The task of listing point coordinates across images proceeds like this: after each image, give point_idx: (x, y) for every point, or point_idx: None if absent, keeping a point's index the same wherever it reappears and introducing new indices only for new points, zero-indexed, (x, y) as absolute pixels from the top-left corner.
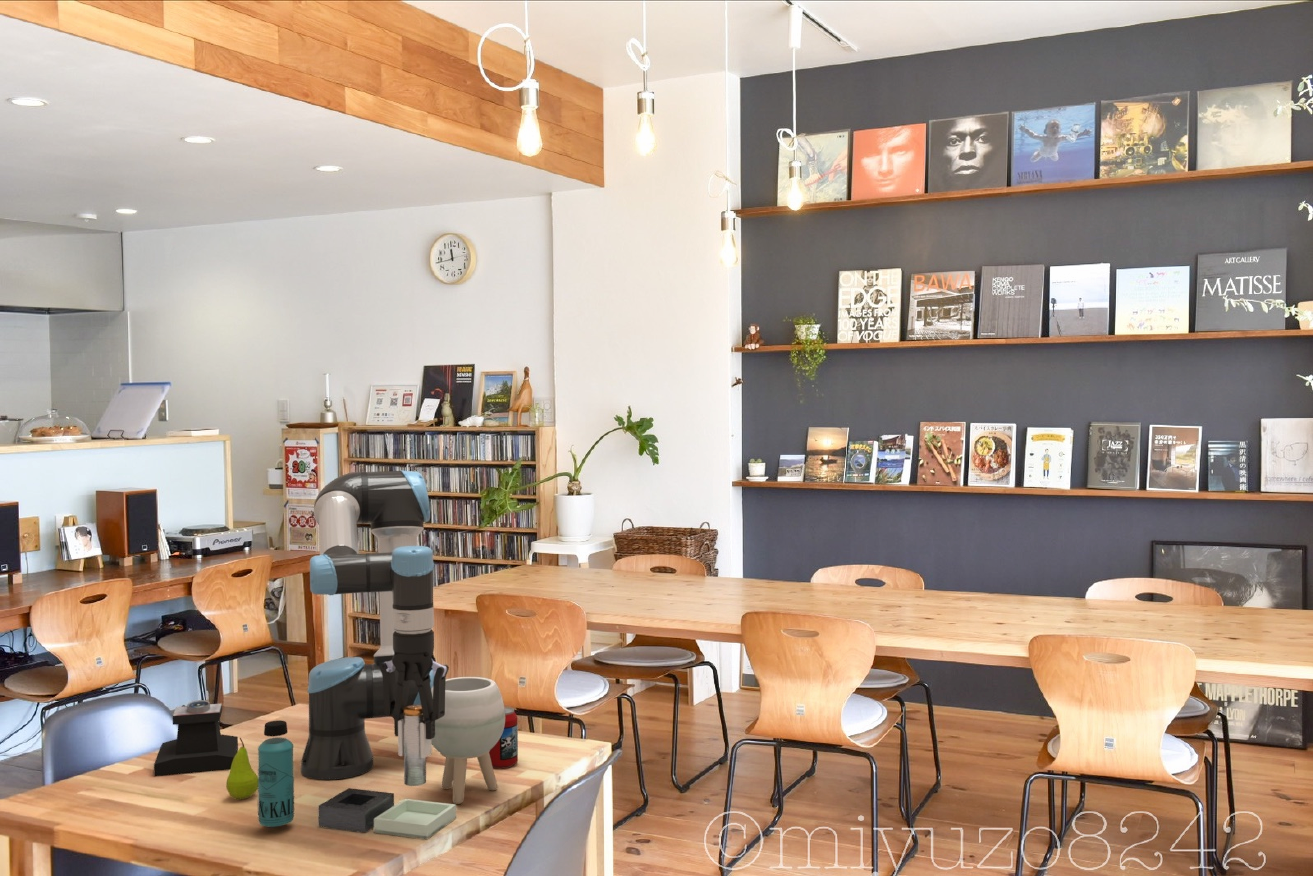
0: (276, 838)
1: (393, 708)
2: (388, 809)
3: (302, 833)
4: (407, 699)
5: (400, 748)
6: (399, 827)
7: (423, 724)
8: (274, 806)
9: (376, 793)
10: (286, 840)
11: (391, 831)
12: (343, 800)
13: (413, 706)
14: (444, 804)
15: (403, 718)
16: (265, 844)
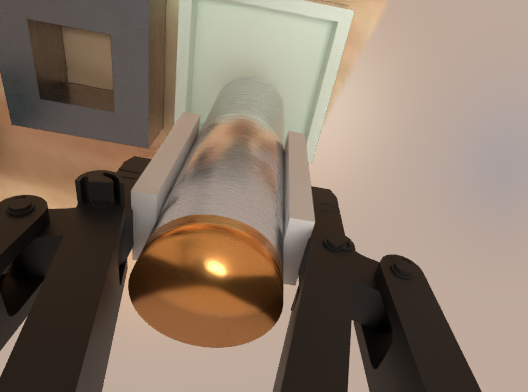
0: (7, 169)
1: (35, 251)
2: (176, 74)
3: (35, 141)
4: (103, 293)
5: None
6: None
7: (293, 281)
8: None
9: (96, 9)
10: (34, 175)
11: None
12: (37, 66)
13: (181, 272)
14: (318, 13)
15: (135, 218)
16: (12, 195)
